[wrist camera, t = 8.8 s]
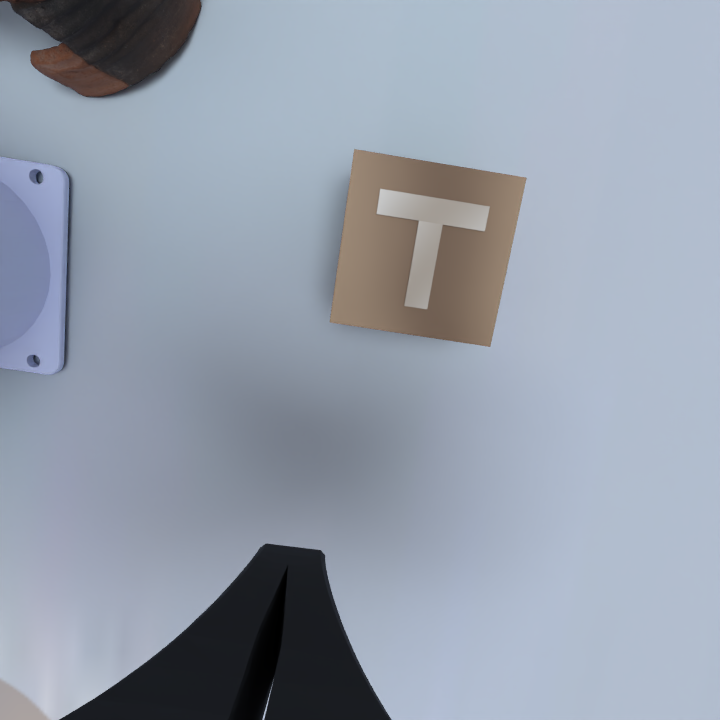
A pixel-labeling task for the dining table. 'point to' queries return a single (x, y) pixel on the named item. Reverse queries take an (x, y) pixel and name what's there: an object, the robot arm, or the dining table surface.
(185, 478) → the dining table surface
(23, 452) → the dining table surface
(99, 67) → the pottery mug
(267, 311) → the dining table surface
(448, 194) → the letter cube
